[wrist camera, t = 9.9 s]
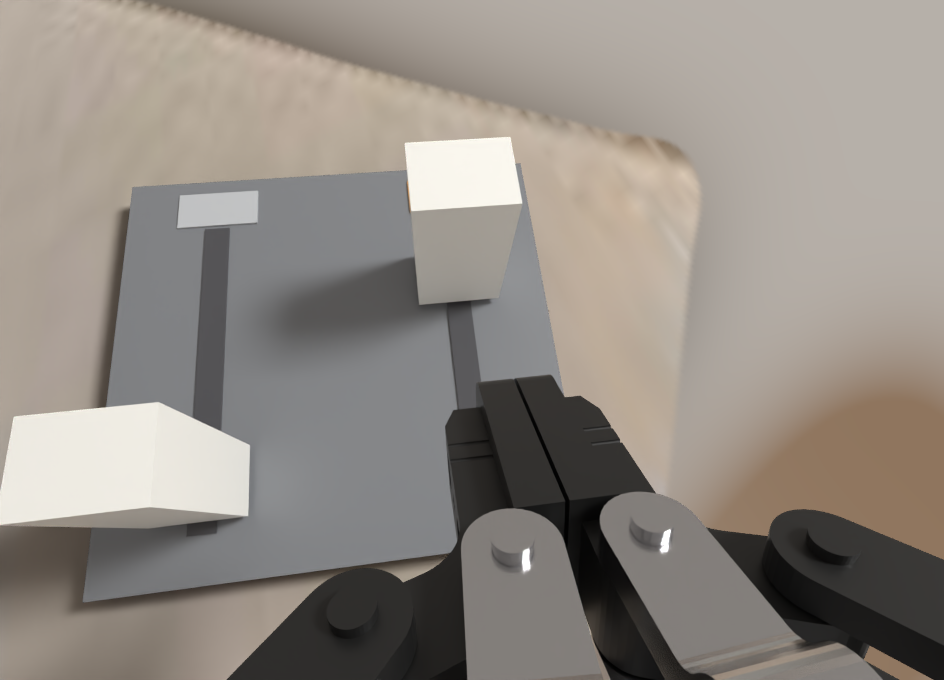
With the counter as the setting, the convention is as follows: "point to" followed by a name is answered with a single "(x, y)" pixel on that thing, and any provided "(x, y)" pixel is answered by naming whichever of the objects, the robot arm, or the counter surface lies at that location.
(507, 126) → the counter surface
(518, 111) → the counter surface
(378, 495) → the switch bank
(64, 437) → the tab inner
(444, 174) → the block
